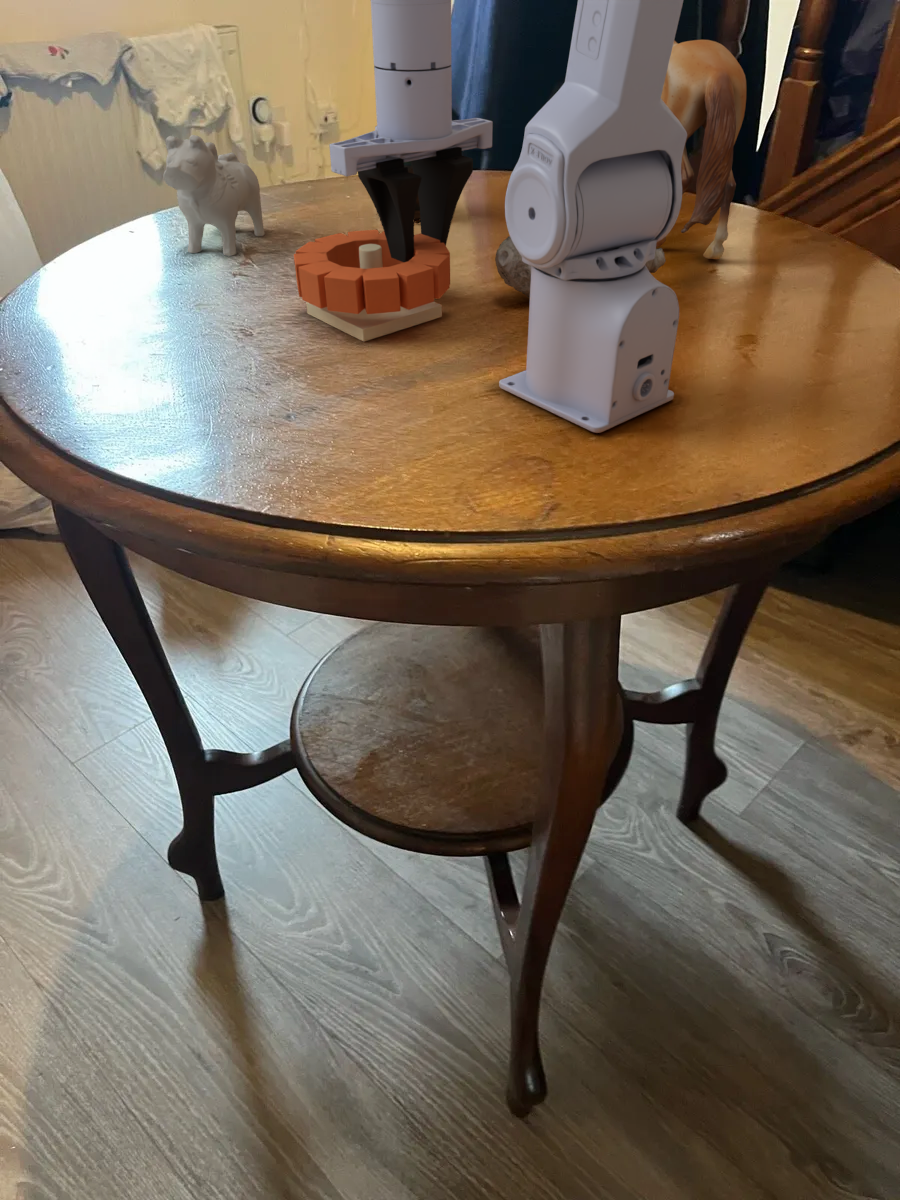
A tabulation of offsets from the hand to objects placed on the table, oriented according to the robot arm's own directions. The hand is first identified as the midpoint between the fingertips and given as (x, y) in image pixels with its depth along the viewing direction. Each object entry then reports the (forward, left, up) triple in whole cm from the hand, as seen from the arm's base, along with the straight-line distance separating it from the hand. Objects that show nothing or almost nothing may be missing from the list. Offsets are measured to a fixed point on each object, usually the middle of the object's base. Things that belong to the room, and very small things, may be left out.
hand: (418, 255), depth 74 cm
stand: (0, +5, -4) cm, 6 cm away
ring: (0, +5, -2) cm, 5 cm away
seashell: (-8, -11, -4) cm, 14 cm away
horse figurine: (0, -27, -4) cm, 28 cm away
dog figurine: (+25, +5, -4) cm, 26 cm away
